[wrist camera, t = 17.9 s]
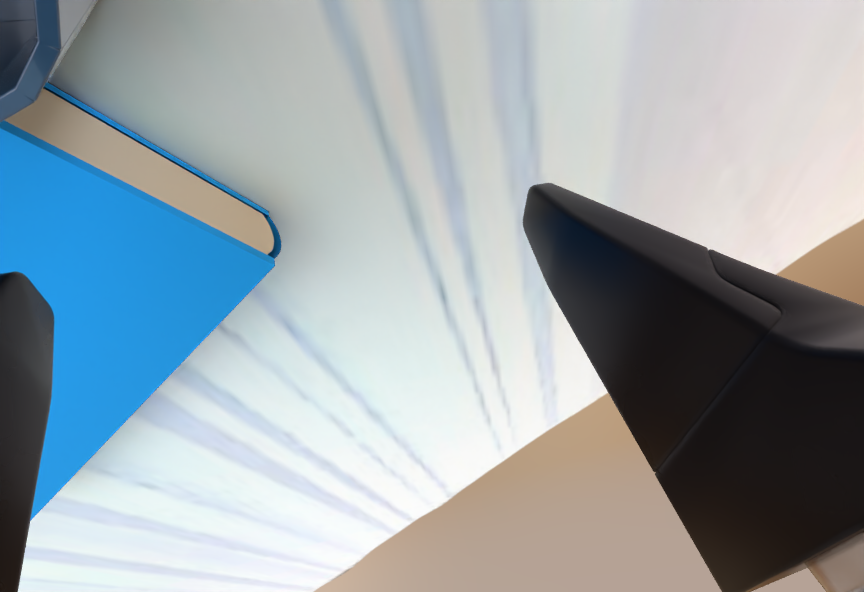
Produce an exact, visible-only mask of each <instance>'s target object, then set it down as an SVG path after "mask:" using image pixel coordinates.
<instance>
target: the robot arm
mask: <svg viewBox="0 0 864 592" xmlns="http://www.w3.org/2000/svg"><path fill="white" fill-rule="evenodd" d="M523 227H524V231H525V233H526V236H527V238H528V240H529V243H530V245H531V248H532V250H533V252H534V255H535V257H536V259H537V262H538V264H539V267H540V269H541V271H542V274H543V276H544V278H545V281H546V283H547V285H548V287H549V289H550V291H551V293H552V295H553V296H554V298H555V300H556V302H557V303H558V305H559V307H560V309H561V310H562V312H563V314H564V316H565V317H566V319H567V321H568V323H569V324H570V326H571V328H572V330H573V331H574V333H575V335H576V337H577V338H578V340H579V342H580V344H581V345H582V347H583V349H584V351H585V352H586V354H587V356H588V358H589V359H590V361H591V363H592V365H593V366H594V368H595V370H596V372H597V373H598V375H599V377H600V379H601V380H602V382H603V384H604V386H605V387H606V389H607V391H608V393H609V394H610V396H611V398H612V400H613V401H614V403H615V405H616V407H617V408H618V410H619V412H620V414H621V415H622V417H623V419H624V421H625V422H626V424H627V426H628V427H629V429H630V431H631V433H632V435H633V436H634V438H635V440H636V442H637V443H638V445H639V447H640V449H641V450H642V452H643V454H644V456H645V457H646V459H647V461H648V463H649V464H650V466H651V468H652V469H653V471H654V472H656V473H655V475H656V477H657V479H658V481H659V483H660V484H661V486H662V488H663V489H664V491H665V493H666V495H667V497H668V498H669V500H670V502H671V503H672V505H673V507H674V509H675V510H676V512H677V514H678V516H679V518H680V519H681V521H682V523H683V525H684V526H685V528H686V530H687V531H688V533H689V535H690V537H691V538H692V540H693V542H694V544H695V545H696V547H697V549H698V551H699V552H700V554H701V556H702V558H703V559H704V561H705V563H706V565H707V566H708V568H709V570H710V572H711V573H712V575H713V577H714V578H715V580H716V582H717V584H718V586H719V587H720V589H721V590H722V592H751V591H753V590H755V589H758V588H760V587H763V586H765V585H767V584H770V583H772V582H774V581H777V580H779V579H782V578H784V577H786V576H789V575H791V574H794V573H796V572H798V571H801V570H803V569H805V568H808V569H809V570H810V571H811V573H812V574H813V575H814V576H815V578H816V579H817V580H818V582H819V583H820V584H821V585H822V587H823V588H824V589H825V591H826V592H864V306H862V305H859V304H857V303H854V302H851V301H848V300H845V299H842V298H839V297H837V296H834V295H831V294H828V293H825V292H822V291H819V290H817V289H814V288H811V287H808V286H805V285H803V284H800V283H797V282H794V281H791V280H788V279H785V278H783V277H780V276H777V275H775V274H772V273H769V272H766V271H764V270H761V269H758V268H756V267H753V266H751V265H748V264H746V263H743V262H741V261H738V260H735V259H733V258H730V257H728V256H726V255H723V254H721V253H718V252H716V251H714V250H708V249H707V248H706V247H704V246H701V245H699V244H697V243H694V242H692V241H689V240H687V239H685V238H682V237H680V236H677V235H675V234H672V233H670V232H668V231H665V230H663V229H660V228H658V227H656V226H653V225H651V224H648V223H646V222H644V221H641V220H639V219H636V218H634V217H632V216H629V215H627V214H624V213H622V212H620V211H617V210H615V209H612V208H610V207H607V206H605V205H603V204H600V203H598V202H595V201H593V200H591V199H588V198H586V197H583V196H581V195H579V194H576V193H574V192H571V191H569V190H567V189H564V188H562V187H559V186H557V185H555V184H552V183H544V184H538V185H533V186H532V187H530V189H529V191H528V194H527V200H526V205H525V210H524V216H523ZM53 350H54V314H53V310H52V308H51V306H50V305H49V303H48V302H47V301H46V300H45V298H44V297H43V296H42V295H41V293H40V292H39V291H38V290H37V289H36V287H35V286H34V285H33V284H32V282H31V281H30V280H29V279H28V278H27V276H26V275H24V274H23V273H20V272H16V271H14V272H8V273H2V274H0V592H18V587H19V581H20V575H21V570H22V564H23V558H24V553H25V547H26V541H27V536H28V530H29V524H30V519H31V513H32V507H33V502H34V496H35V490H36V485H37V479H38V473H39V468H40V462H41V456H42V451H43V445H44V439H45V433H46V428H47V422H48V416H49V411H50V404H51V397H52V382H53Z"/></svg>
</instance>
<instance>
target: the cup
mask: <svg viewBox="0 0 864 592" xmlns="http://www.w3.org/2000/svg"><path fill="white" fill-rule="evenodd" d="M96 2H97V0H0V122H2V121H4V120H6V119H7V118H9V117H11V116H12V115H14V114H16V113H18V112H19V111H21V110H23V109H24V108H26V107H28V106H30V105H31V104H33V103H34V102H35V101H36V100H37V99H38V98H39V96H40V94H41V93H42V91H43V89H44V88H45V86H46V85H47V83H48V81H49V80H50V78H51V76H52V75H53V73H54V72H55V70H56V68H57V67H58V65H59V64H60V62H61V60H62V59H63V57H64V55H65V54H66V52H67V51H68V49H69V47H70V46H71V44H72V42H73V41H74V39H75V38H76V36H77V34H78V33H79V31H80V30H81V28H82V26H83V25H84V23H85V21H86V20H87V18H88V17H89V15H90V13H91V12H92V10H93V8H94V6H95V4H96Z"/></svg>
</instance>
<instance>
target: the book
mask: <svg viewBox="0 0 864 592" xmlns="http://www.w3.org/2000/svg"><path fill="white" fill-rule="evenodd" d="M280 250H281V239H280V235H279V233H278V230H277V228H276V226H275V224H274V223H273V221H272V220H271V218H270V217H269V212H268V211H267V210H265V209H263V208H262V207H260V206H258V205H257V204H255V203H253V202H251V201H250V200H248V199H246V198H245V197H243V196H241V195H239V194H238V193H236V192H234V191H233V190H231V189H229V188H227V187H226V186H224V185H222V184H221V183H219V182H217V181H215V180H214V179H212V178H210V177H209V176H207V175H205V174H203V173H202V172H200V171H198V170H197V169H195V168H193V167H191V166H190V165H188V164H186V163H185V162H183V161H181V160H179V159H178V158H176V157H174V156H173V155H171V154H169V153H167V152H166V151H164V150H162V149H161V148H159V147H157V146H155V145H154V144H152V143H150V142H149V141H147V140H145V139H143V138H142V137H140V136H138V135H137V134H135V133H133V132H131V131H130V130H128V129H126V128H125V127H123V126H121V125H119V124H118V123H116V122H114V121H113V120H111V119H109V118H107V117H106V116H104V115H102V114H101V113H99V112H97V111H95V110H94V109H92V108H90V107H89V106H87V105H85V104H83V103H82V102H80V101H78V100H77V99H75V98H73V97H71V96H70V95H68V94H66V93H65V92H63V91H61V90H59V89H58V88H56V87H54V86H53V85H51V84H49V83H47V85H46V86H45V88H44V89H43V91H42V93H41V94H40V96H39V98H38V99H37V100H36V101H35V102H34V103H33V104H31V105H30V106H28V107H26V108H24V109H23V110H21V111H19V112H18V113H16V114H14V115H12V116H11V117H9V118H7V119H6V120H4V121H2V122H0V274H2V273H8V272H14V271H16V272H20V273H23V274H24V275H26V276H27V278H28V279H29V280H30V281H31V282H32V284H33V285H34V286H35V287H36V289H37V290H38V291H39V292H40V293H41V295H42V296H43V297H44V298H45V300H46V301H47V302H48V303H49V305H50V306H51V308H52V310H53V314H54V350H53V382H52V397H51V404H50V411H49V416H48V422H47V428H46V433H45V439H44V445H43V451H42V456H41V462H40V468H39V473H38V479H37V485H36V490H35V496H34V502H33V507H32V513H31V519H30V521H31V520H32V519H33V517H34V516H35V515H36V514H37V513H38V512H39V511H40V510H41V509H42V508H43V507H44V506H45V505H46V504H47V503H48V502H49V501H50V500H51V499H52V498H53V497H54V496H55V495H56V493H57V492H58V491H59V490H60V489H61V488H62V487H63V486H64V485H65V484H66V483H67V482H68V481H69V480H70V479H71V478H72V477H73V476H74V475H75V474H76V473H77V472H78V471H79V469H80V468H81V467H82V466H83V465H84V464H85V463H86V462H87V461H88V460H89V459H90V458H91V457H92V456H93V455H94V454H95V453H96V452H97V451H98V450H99V449H100V448H101V447H102V445H103V444H104V443H105V442H106V441H107V440H108V439H109V438H110V437H111V436H112V435H113V434H114V433H115V432H116V431H117V430H118V429H119V428H120V427H121V426H122V425H123V424H124V423H125V422H126V420H127V419H128V418H129V417H130V416H131V415H132V414H133V413H134V412H135V411H136V410H137V409H138V408H139V407H140V406H141V405H142V404H143V403H144V402H145V401H146V400H147V399H148V398H149V396H150V395H151V394H152V393H153V392H154V391H155V390H156V389H157V388H158V387H159V386H160V385H161V384H162V383H163V382H164V381H165V380H166V379H167V378H168V377H169V376H170V375H171V374H172V372H173V371H174V370H175V369H176V368H177V367H178V366H179V365H180V364H181V363H182V362H183V361H184V360H185V359H186V358H187V357H188V356H189V355H190V354H191V353H192V352H193V351H194V350H195V348H196V347H197V346H198V345H199V344H200V343H201V342H202V341H203V340H204V339H205V338H206V337H207V336H208V335H209V334H210V333H211V332H212V331H213V330H214V329H215V328H216V327H217V326H218V325H219V323H220V322H221V321H222V320H223V319H224V318H225V317H226V316H227V315H228V314H229V313H230V312H231V311H232V310H233V309H234V308H235V307H236V306H237V305H238V304H239V303H240V302H241V301H242V299H243V298H244V297H245V296H246V295H247V294H248V293H249V292H250V291H251V290H252V289H253V288H254V287H255V286H256V285H257V284H258V283H259V282H260V281H261V280H262V279H263V278H264V277H265V275H266V274H267V273H268V272H269V271H270V270H271V269H272V268H273V267H274V266H275V261H274V259H275V258H276V257H277V256H278V254H279V253H280Z"/></svg>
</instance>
